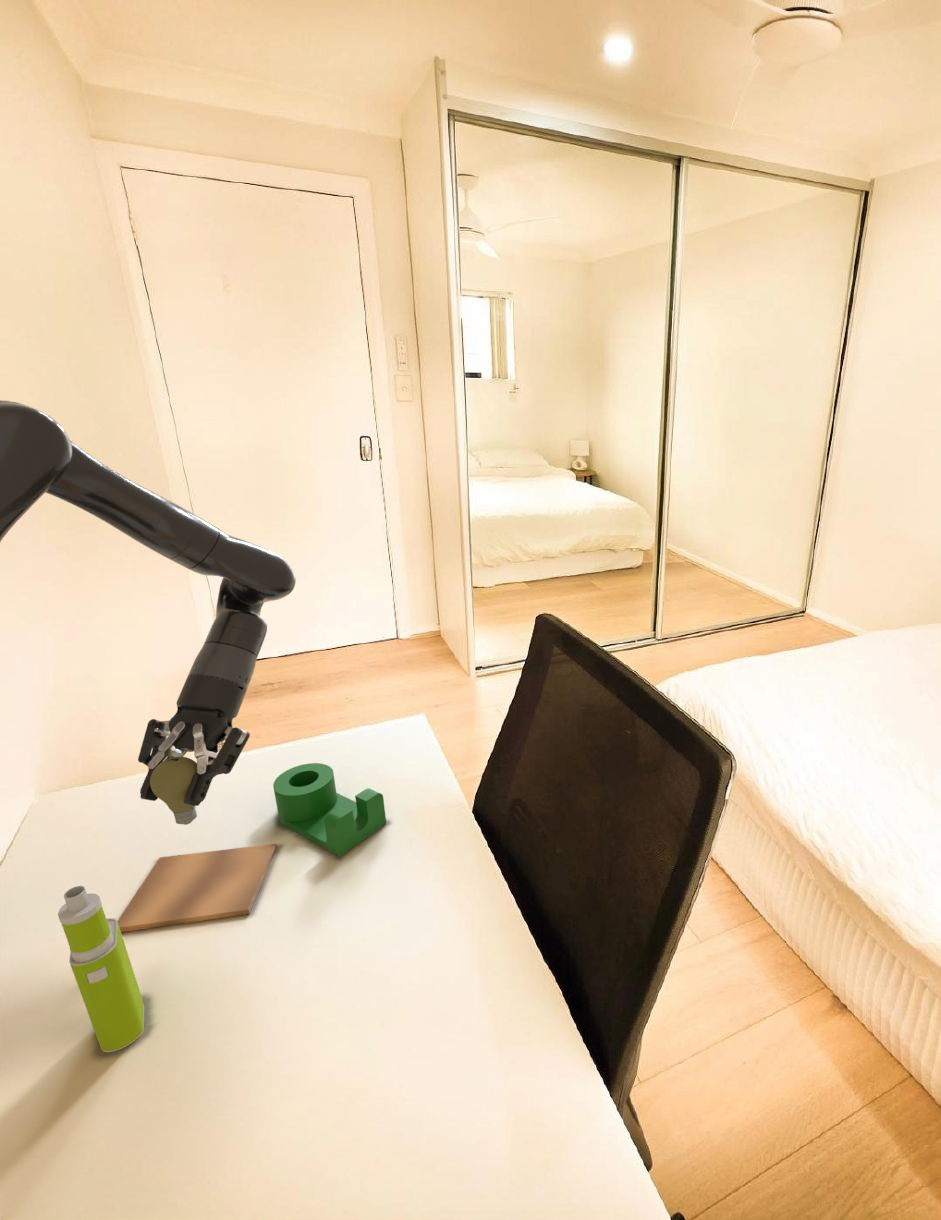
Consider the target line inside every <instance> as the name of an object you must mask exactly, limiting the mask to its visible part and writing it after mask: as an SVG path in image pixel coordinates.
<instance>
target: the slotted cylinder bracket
mask: <svg viewBox="0 0 941 1220" xmlns="http://www.w3.org/2000/svg"><path fill="white" fill-rule="evenodd" d="M334 773H335V772H334V769H333V768H332V767H331V766H330V765H327V764H325V763H319V762H310V763H304V764H299V765H297V766H293V767H291V768H289V769H287V770H285V771H283V772H282V773H280V774H279V775H278V776H277V777H276V778H275V780H274V781H273V783H272V787H273V788H272V789H273V792H274V798H275V804H276V810H277V814H278V819H279V822H280V824H281V825H282V826H284V827H285V828H287V829H289V830H291V831H292V832H294V833H296V834H298V835H300V836H302V837H304V838H305V839H308V840H309V841H311V842H313V843H314V844H316V845H318V846H319V847H322V848H323V849H325V850H327V851H329V852H330V853H333V854H334V855H336V856H338V857H341V856H343V855H344V854H345V853H347V852H348V851H349V850H351V849H352V848H354V847H355V846H357V845H358V844H359V843H360V842H362V841H363V840H365V839H366V838H367V837H370V835H372V834H373V833H374V832H376V831H377V830H378V829H380V828H381V827H383V826H385V824H387V818H386V817H387V816H386V810H385V809H386V808H385V800H384V795H383V793H381V792H379V791H377V790H374V789H372V788H368V787H367V788H365V789H363V790H362V791H361V792H358V794H356V795H355V798H354V799H355V801H354V800H352V799H350V798H348V797H345V796H344V795H342V794H339V793H338V792H337V787H336V779H335V774H334Z"/></svg>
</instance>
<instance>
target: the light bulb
mask: <svg viewBox="0 0 941 1220" xmlns="http://www.w3.org/2000/svg"><path fill="white" fill-rule="evenodd" d="M164 760H165V759H164ZM194 775H198V773H197V761H195V760H193V759H192V758H190V757H186V756H183V757H172V758H169V759H167V760H165V761H163V762H161V763H160V764H159V765H158V766H157V767H156V768H155V769H154V771H153V773H152V775H151V778H150V786H151V789H152V791H153V793H154V794H155V795H156V796H157V797H158V799H159V800H161V801H162V802H163V803H164V804H166V806H167V807H168V809H169V810H170V811H171V812H172V814H173V816H174V817H173V818H174V821H175V824H177V825H184V826H185V825H190V824H191V823H192V822H193V821H194V820H195V819H196V818H198V813H197V810H196V809H197V808H196V806H192V805H187V804H184V799H185V796H186V794H187V791H188V788H189V786H190V783H191V781H192V778H193V776H194Z"/></svg>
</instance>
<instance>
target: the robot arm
mask: <svg viewBox="0 0 941 1220" xmlns="http://www.w3.org/2000/svg"><path fill="white" fill-rule="evenodd" d="M45 494H48V495H51V496H53V497H55V498H58V499H60V500H62V501H64V502H67V503H69V504H71V505H73V506H74V507H77V508H79V509H81V510H83V511H84V512H87V513H88V514H90V515H92V516H94V517H96V518H98V519H99V520H101V521H103V522H105V523H106V524H108V525H110V526H112V528H114V529H116V530H118V531H120V532H121V533H122V534H125V535H126V536H128V537H129V538H130V539H132V540H134V541H135V542H138V543H139V544H141V545H143V546H144V547H146V548H148V549H149V550H151V551H153V552H155V553H156V554H158V555H160V556H162V557H165V558H166V559H168V560H170V561H172V562H174V563H176V564H178V565H180V566H182V567H184V568H185V569H187V570H189V571H192V572H193V573H195V574H199V575H202V576H208V577H209V576H211V577H220V578H222V579H221V581H220V585H219V589H218V594H217V603H216V608H215V617H214V620H213V622H212V624H211V627H210V629H209V631H208V632H207V633H208V634H207V635H206V637H205V640H204V642H203V645H202V647H201V648H200V650H199V652H198V654H197V655H196V657H195V658H194V660H193V663H192V665H191V667H190V670H189V672H188V674H187V677H186V679H185V682H184V684H183V686H182V688H181V691H180V693H179V695H178V697H177V699H176V707H177V710H176V712H175V714H174V715H173V716H172V717H171V718H170V720H159V719H155V718H152V719H150V720H149V721H148V722H147V726H146V729H145V733H144V736H143V739H142V743H141V747H140V751H139V753H138V757H137V761H138V762H139V763H141V764H143V765H145V766H147V769H148V771H147V774H146V776H145V778H144V781H143V782H142V785H141V787H140V790H139V795H140V799H141V800H146V801H153V802H155V801H157V800H158V799H159V798H158V797H157V796H156V795H155V794H154V793H153V791H152V789H151V786H150V778H151V775H152V773H153V771H154V769H155V768H156V767H157V766H158V765H159V764H160V763H161V762H163V761H165V760H167V759H169V758H172V757H185V755H186V754H187V753H193V754H194V755H193V756H194V757H195V759H196V763H197V773H198V775H194V776H193V778H192V781H191V783H190V786H189V788H188V791H187V794H186V796H185V799H184V804H187V805H192V806H195V807H198V806H200V804H201V803H202V802H203V801H204V800H205V799H206V797H207V793H208V792H209V789H210V786H211V784H212V781H213V779H214V778H215V777H216V776H218V775H223V774H225V775H228V774H230V773H231V771H232V770H233V768H234V766H235V764H236V763H237V761H238V759H239V758H240V755H241V753H242V752H243V750H244V748H245V746H246V744H247V743H248V741H249V738H250V737H251V734H250V732H249V731H246V730H245V729H242V728H240V727H233V720H234V719H235V718H236V717H237V716H238V715H239V712H240V710H241V707H242V704H243V701H244V699H245V696H246V694H247V692H248V689H249V686H250V684H251V680H252V678H253V676H254V672H255V668H256V664H257V659H258V657H259V654H260V652H261V650H262V647H263V644H264V642H265V639H266V636H267V633H268V624H267V622H266V620H265V619H264V618H263V617H261V612H262V608H263V606H264V604H265V603H267V602H274V601H279V600H281V599H284V598H286V597H287V596H289V595H290V594H291V593H292V592H293V590H294V588H295V587H296V581H297V578H296V574H295V571H294V569H293V567H292V566H291V564H290V563H289V562H288V561H287V560H285V558H283V557H282V556H280V555H279V554H277V553H275V552H273V551H272V550H269V549H267V548H264V547H262V546H260V545H257V544H255V543H251V542H250V541H247V540H244V539H241V538H238V537H235V536H233V535H230V534H228V533H226V532H225V531H223V530H222V529H220V528H218V527H217V526H216V525H214V524H212V523H210V522H209V521H207V520H205V519H204V518H202V517H200V516H199V515H197V514H195V513H193V512H192V511H190V510H188V509H187V508H184V507H183V506H180V505H179V504H176V502H173V501H171V500H169V499H167V498H165V497H163V496H161V495H159V494H157V493H156V492H154V491H152V490H150V489H148V488H145V487H144V486H142V485H140V484H138V483H136V482H135V481H132V480H130V479H128V478H127V477H125V476H123V475H122V474H120V473H119V472H116V471H115V470H113V469H112V468H111V467H109V466H107V465H105V464H104V463H103V462H101V461H99V460H98V459H96V458H95V457H93V456H92V455H90V454H89V453H88V452H87V451H85V450H84V449H82V448H81V447H80V446H78V445H77V444H76V443H75V442H73V440H71V439H70V437H69V435H68V433H67V432H66V430H65V429H64V427H63V426H62V425H61V424H60V423H59V422H58V421H56V420H55V419H54V418H53V417H52V416H51V415H49V414H47V413H45V412H43V411H41V410H39V409H37V408H35V407H32V406H29V405H26V404H24V403H20V402H16V401H10V400H2V399H1V400H0V543H1V542H2V541H3V539H4V538H5V537H6V535H7V534H8V533H9V531H10V530H11V529H12V528H13V527H14V525H16V523H18V521H19V520H20V519H21V518H23V516H24V515H25V514H26V513H27V512H28V511H29V510H30V509H31V507H33V506H34V504H35V503H36V502H37V501H39V499H40V498H42V497H43V496H44V495H45ZM223 740H224V742H223V744H222V746H221V742H222V741H223ZM173 747H174V748H173Z"/></svg>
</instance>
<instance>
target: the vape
mask: <svg viewBox="0 0 941 1220" xmlns="http://www.w3.org/2000/svg"><path fill="white" fill-rule="evenodd" d="M63 898H64V901H65V903H64V904H63V905H62V906H61V907H60V908H59V910H58V912H57V917H58V919H59V922H60V923H61V926H62V929H63V933H64V934H65V938H66V941H67V943H68V946H69V950H70V953H69V964H70V968H71V970H72V973H73V976H74V979H75V981H76V984H77V987H78V989H79V992H80V995H81V998H82V1000H83V1004H84V1005H85V1009H86V1011H87V1014H88V1017H89V1020H90V1023H91V1025H92V1028H93V1030H94V1034H95V1037H96V1039H97V1041H98V1044H99V1047H100V1050H101V1051H102V1052H103V1053H113V1052H116V1051H120V1050H122V1049H124V1048H126V1047H128V1046H129V1045H131V1044H133V1043H134V1042H135V1041H137V1040H138V1039H139V1038H140V1037H141V1036H142V1035H143V1033H144V1030H145V1004H144V1000H143V997H142V994H141V991H140V987H139V984H138V981H137V977H136V974H135V972H134V968H133V966H132V965H133V964H132V962H131V959H130V956H129V953H128V950H127V947H126V944H125V941H124V937H123V934H122V932H121V931H120V928H119V925H118V922H117V921H118V919H116V918H112V917H111V918H107V917H106V914H105V911H104V907H103V905H102V900H101V897H100V895H99V894H98V893H94V892H93V893H91V892H90V893H88V892H87V890H86V887H85V886H83V885H76V886H74V887H71V888H70V889H68V890H67V891H65V892H64V894H63Z"/></svg>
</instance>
